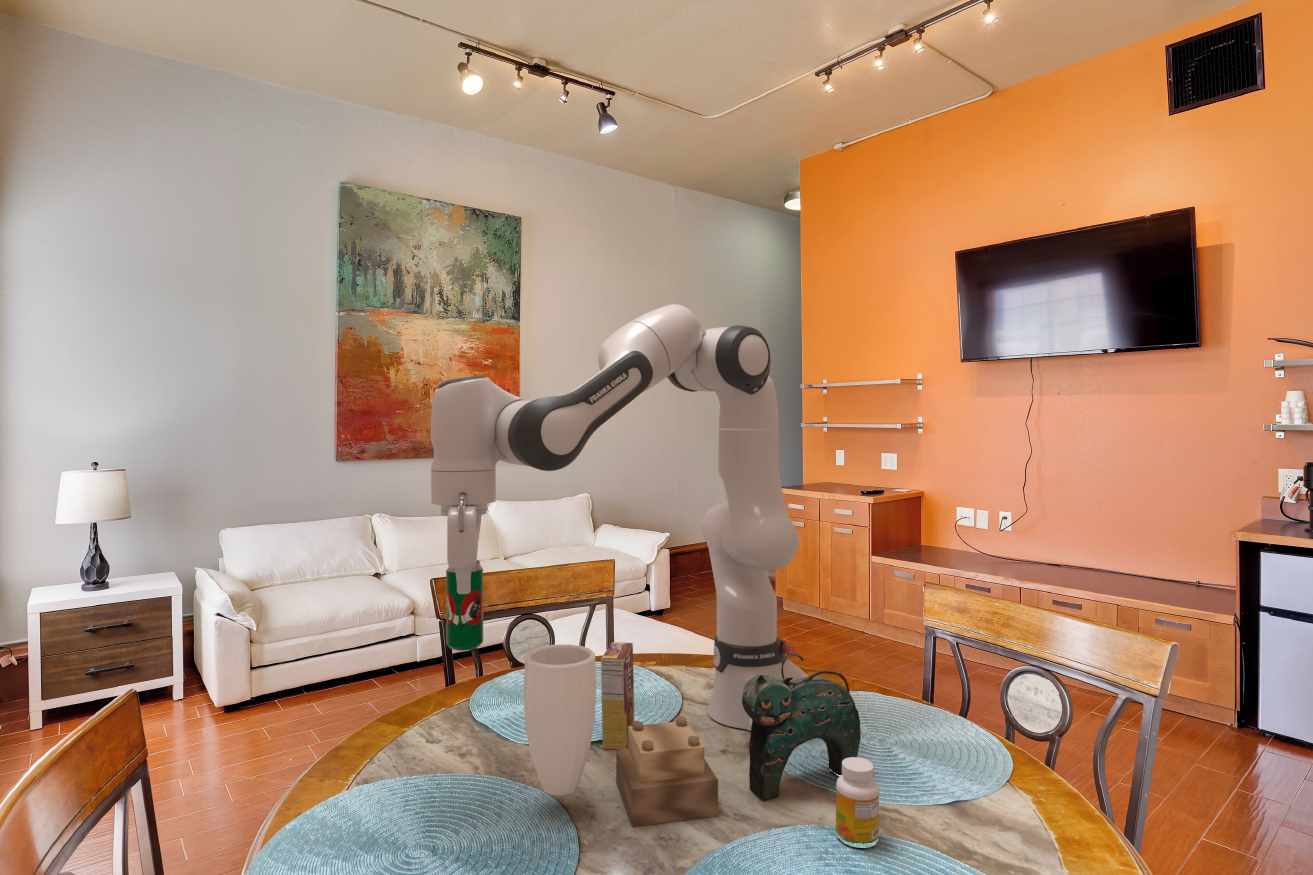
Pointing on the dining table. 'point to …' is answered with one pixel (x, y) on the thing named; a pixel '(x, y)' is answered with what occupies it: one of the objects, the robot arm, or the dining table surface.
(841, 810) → the supplement bottle
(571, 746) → the cup
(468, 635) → the soda can
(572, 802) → the dining table surface
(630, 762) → the tower base
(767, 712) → the ceramic cat
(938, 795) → the dining table surface
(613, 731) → the candy box
